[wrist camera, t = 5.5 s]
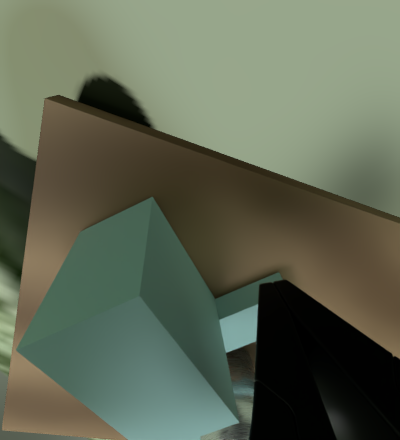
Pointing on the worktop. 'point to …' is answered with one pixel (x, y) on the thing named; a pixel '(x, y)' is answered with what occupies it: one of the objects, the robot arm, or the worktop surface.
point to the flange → (142, 330)
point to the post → (238, 396)
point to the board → (191, 238)
